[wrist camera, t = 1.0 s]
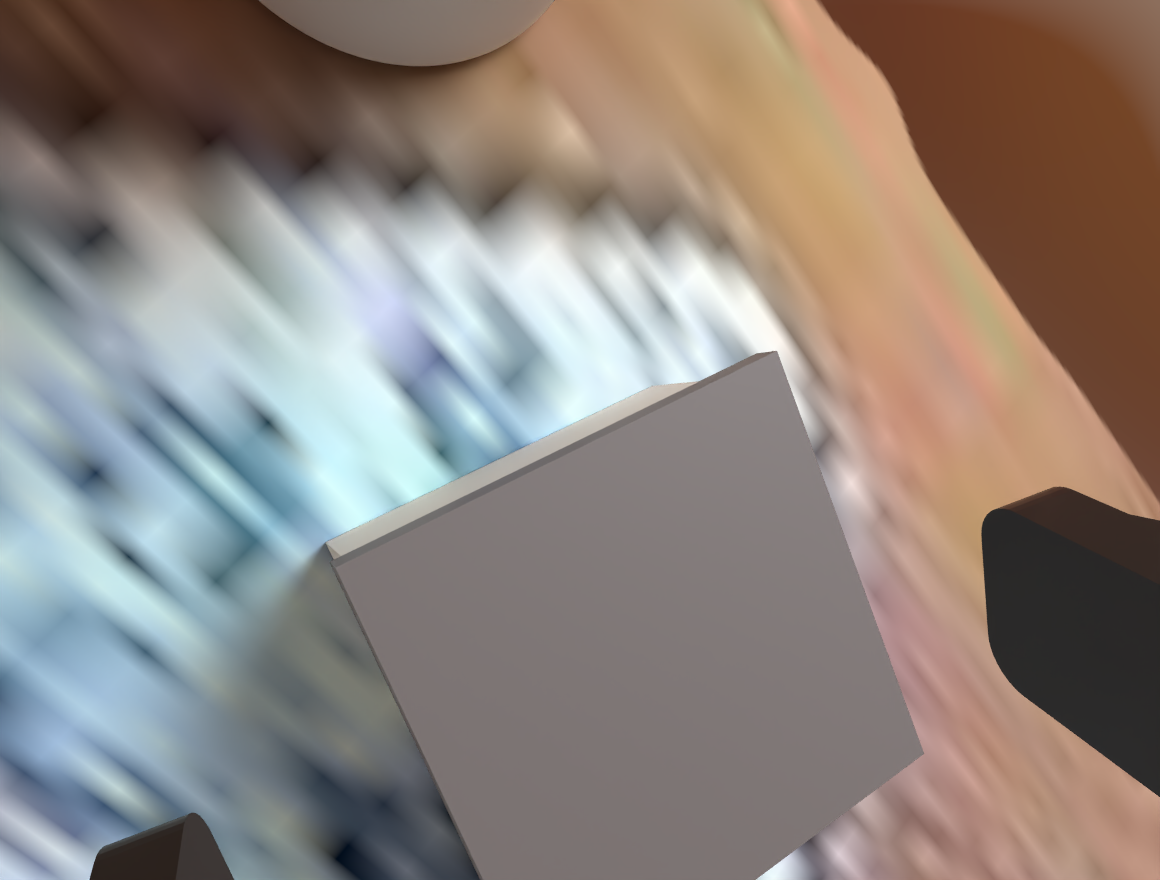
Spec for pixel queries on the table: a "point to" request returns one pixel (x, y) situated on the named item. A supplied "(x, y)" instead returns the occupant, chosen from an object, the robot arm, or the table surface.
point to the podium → (636, 641)
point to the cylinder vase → (411, 26)
